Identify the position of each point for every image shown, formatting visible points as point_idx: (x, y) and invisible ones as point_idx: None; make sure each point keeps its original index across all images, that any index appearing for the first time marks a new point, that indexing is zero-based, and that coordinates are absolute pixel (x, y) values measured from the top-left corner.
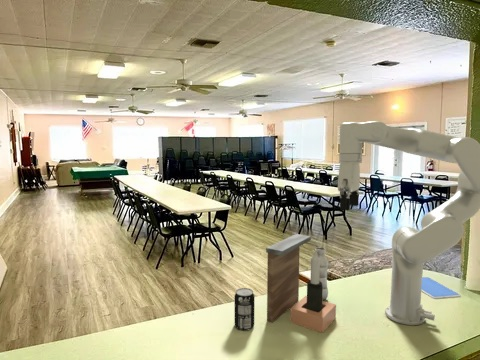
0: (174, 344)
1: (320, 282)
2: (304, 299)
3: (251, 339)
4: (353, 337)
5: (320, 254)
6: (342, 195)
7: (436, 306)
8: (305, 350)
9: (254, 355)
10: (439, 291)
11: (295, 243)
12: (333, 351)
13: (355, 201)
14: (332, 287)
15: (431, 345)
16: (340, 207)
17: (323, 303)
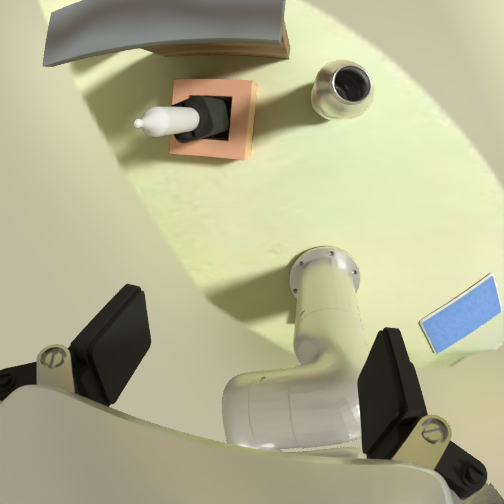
0: (62, 4)
1: (195, 132)
2: (231, 85)
3: (107, 62)
4: (196, 202)
5: (330, 89)
6: (29, 377)
7: (388, 324)
8: (121, 145)
9: (80, 92)
10: (445, 329)
11: (127, 40)
12: (141, 183)
13: (365, 396)
14: (412, 120)
15: (240, 310)
16: (121, 293)
17: (234, 132)
